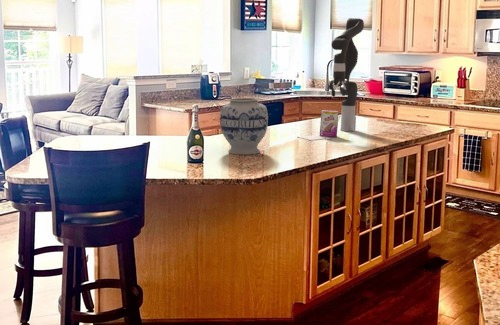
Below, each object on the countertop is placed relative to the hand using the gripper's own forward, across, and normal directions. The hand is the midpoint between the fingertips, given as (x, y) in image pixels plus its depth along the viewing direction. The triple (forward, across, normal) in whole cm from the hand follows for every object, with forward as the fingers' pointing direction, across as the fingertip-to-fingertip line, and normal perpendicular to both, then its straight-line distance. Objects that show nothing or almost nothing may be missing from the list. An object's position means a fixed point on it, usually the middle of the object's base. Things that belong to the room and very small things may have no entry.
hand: (338, 96), depth 406 cm
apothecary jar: (+26, +81, +18) cm, 87 cm away
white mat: (+26, +19, -1) cm, 32 cm away
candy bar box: (+26, +8, 0) cm, 27 cm away
